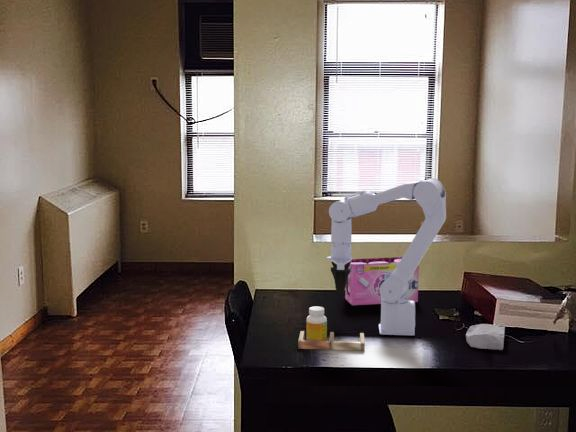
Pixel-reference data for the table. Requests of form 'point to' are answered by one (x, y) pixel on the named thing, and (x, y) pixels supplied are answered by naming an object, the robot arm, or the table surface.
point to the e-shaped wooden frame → (331, 343)
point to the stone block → (486, 336)
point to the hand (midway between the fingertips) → (340, 288)
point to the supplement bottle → (316, 324)
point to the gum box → (374, 280)
